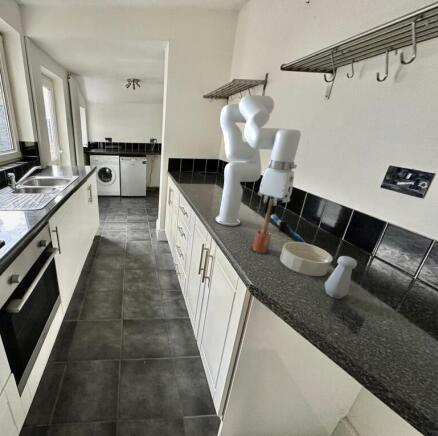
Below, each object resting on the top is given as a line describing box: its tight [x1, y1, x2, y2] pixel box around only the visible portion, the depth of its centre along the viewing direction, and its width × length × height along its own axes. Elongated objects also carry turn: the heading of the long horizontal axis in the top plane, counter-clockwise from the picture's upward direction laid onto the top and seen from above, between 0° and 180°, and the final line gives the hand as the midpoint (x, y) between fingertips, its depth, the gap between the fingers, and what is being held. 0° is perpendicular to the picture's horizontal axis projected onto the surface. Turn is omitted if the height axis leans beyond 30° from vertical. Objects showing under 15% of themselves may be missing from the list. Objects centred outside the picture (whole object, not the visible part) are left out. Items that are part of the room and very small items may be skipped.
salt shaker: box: [324, 255, 358, 300], centre depth 70 cm, size 6×6×13 cm
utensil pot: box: [252, 229, 272, 253], centre depth 95 cm, size 5×6×8 cm
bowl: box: [279, 241, 334, 277], centre depth 86 cm, size 15×15×6 cm
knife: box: [270, 213, 306, 243], centre depth 113 cm, size 31×3×4 cm, turn 178°
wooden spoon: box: [260, 198, 274, 236], centre depth 91 cm, size 3×2×18 cm, turn 33°
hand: (268, 213), depth 90 cm, fingers closed on wooden spoon, 1 cm apart
